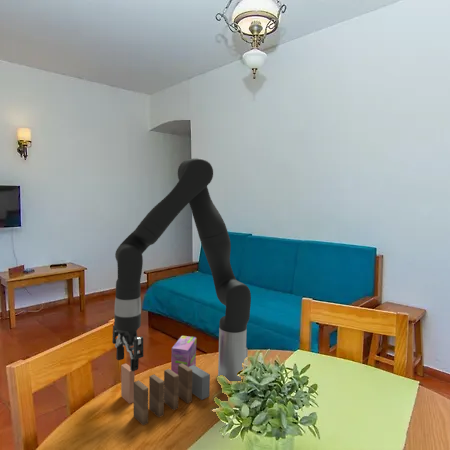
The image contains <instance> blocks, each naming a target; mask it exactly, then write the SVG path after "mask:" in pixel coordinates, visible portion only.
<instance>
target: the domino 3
mask: <svg viewBox="0 0 450 450" xmlns="http://www.w3.org/2000/svg"><path fill="white" fill-rule="evenodd" d="M163 381H164V405H166V406H168V407H169V408H170V409H172V410H173V411H175V410H177V409H179V397H178V389H179V375H178V374H176V373H175V372H173V371H172V370H171V368H167V369H164V370H163Z"/></svg>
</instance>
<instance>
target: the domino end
mask: <svg viewBox="0 0 450 450" xmlns="http://www.w3.org/2000/svg"><path fill="white" fill-rule="evenodd" d="M120 369H121V371H120V372H121V375H120V377H121V378H120V379H121V380H120V382H121V385H120V386H121V391H120V393H121V394H120V396H122V397H121V398H122V399H124V400H125V402H127V403H128V404H132V403H133V404H134V382H135V371H131V370H130V365H129V364H128V363H123V364H121V366H120Z"/></svg>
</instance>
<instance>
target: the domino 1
mask: <svg viewBox="0 0 450 450" xmlns="http://www.w3.org/2000/svg"><path fill="white" fill-rule="evenodd" d="M133 417H134V419H135V420H136V421H137V422H138V423H140V424H141V425H142V426H145V425H147V424H149V386H148V385H145V384H144V383H143V382H142V381H141V380H135V381H134V402H133Z"/></svg>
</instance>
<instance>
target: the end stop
mask: <svg viewBox="0 0 450 450" xmlns="http://www.w3.org/2000/svg"><path fill="white" fill-rule="evenodd" d="M189 368H191V369H192V395H194V396H196V397H197V398H199V399H200V400H202V401H203V400H205V399H207V398H209V397H210V393H211V392H210V390H211V389H210V388H211V387H210V386H211V385H210V384H211V383H210V382H211V374H210V373H209V372H207V371H205V370H203V369H201V368H199V366H195V365H192V366H189Z"/></svg>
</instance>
